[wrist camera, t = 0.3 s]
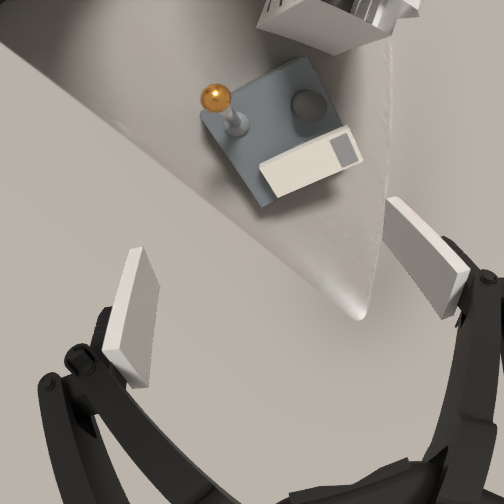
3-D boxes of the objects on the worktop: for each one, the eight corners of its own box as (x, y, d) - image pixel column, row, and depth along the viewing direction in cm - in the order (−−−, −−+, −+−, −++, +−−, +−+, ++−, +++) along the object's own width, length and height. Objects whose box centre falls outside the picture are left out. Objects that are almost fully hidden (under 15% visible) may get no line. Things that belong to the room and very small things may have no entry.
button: (284, 98, 32) (289, 100, 30) (312, 84, 31) (318, 85, 29) (299, 124, 34) (304, 128, 32) (325, 110, 33) (332, 113, 31)
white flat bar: (259, 163, 35) (259, 168, 34) (346, 124, 31) (349, 128, 30) (277, 192, 38) (277, 198, 37) (361, 157, 33) (364, 161, 32)
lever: (220, 120, 33) (190, 90, 23) (240, 108, 32) (217, 73, 22) (231, 138, 33) (205, 114, 23) (252, 126, 32) (233, 96, 22)
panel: (200, 111, 36) (198, 119, 30) (297, 56, 33) (312, 56, 28) (257, 195, 43) (264, 215, 38) (344, 146, 40) (363, 160, 35)
